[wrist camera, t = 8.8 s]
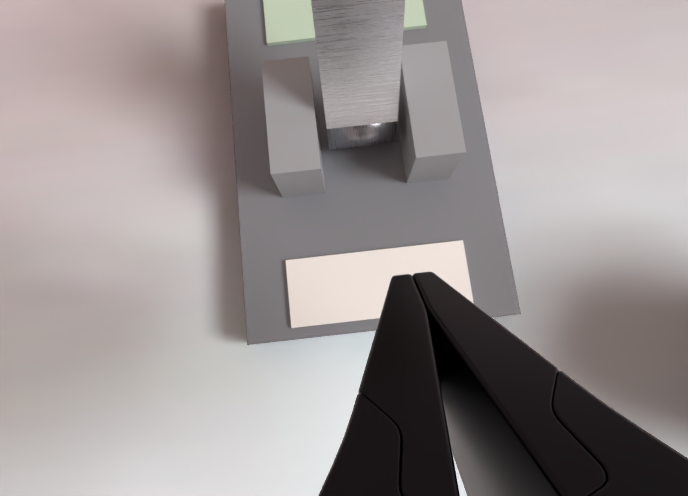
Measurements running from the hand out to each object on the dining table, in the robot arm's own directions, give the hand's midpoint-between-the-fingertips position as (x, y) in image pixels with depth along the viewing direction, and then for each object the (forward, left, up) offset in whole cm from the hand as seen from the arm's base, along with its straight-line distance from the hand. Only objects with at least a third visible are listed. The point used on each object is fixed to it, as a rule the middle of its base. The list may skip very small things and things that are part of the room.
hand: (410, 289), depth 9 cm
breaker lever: (+6, +6, -8) cm, 12 cm away
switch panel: (+6, +6, -11) cm, 14 cm away
